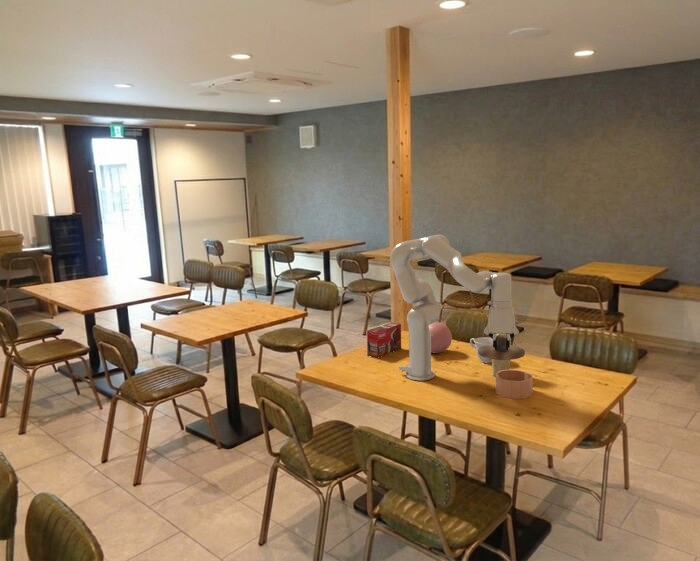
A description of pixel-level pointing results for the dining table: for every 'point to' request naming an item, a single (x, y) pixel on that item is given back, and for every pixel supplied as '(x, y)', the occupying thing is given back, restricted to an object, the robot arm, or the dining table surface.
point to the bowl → (514, 384)
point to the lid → (501, 351)
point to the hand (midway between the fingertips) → (501, 348)
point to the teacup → (479, 343)
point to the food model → (500, 361)
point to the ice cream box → (383, 339)
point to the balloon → (439, 337)
